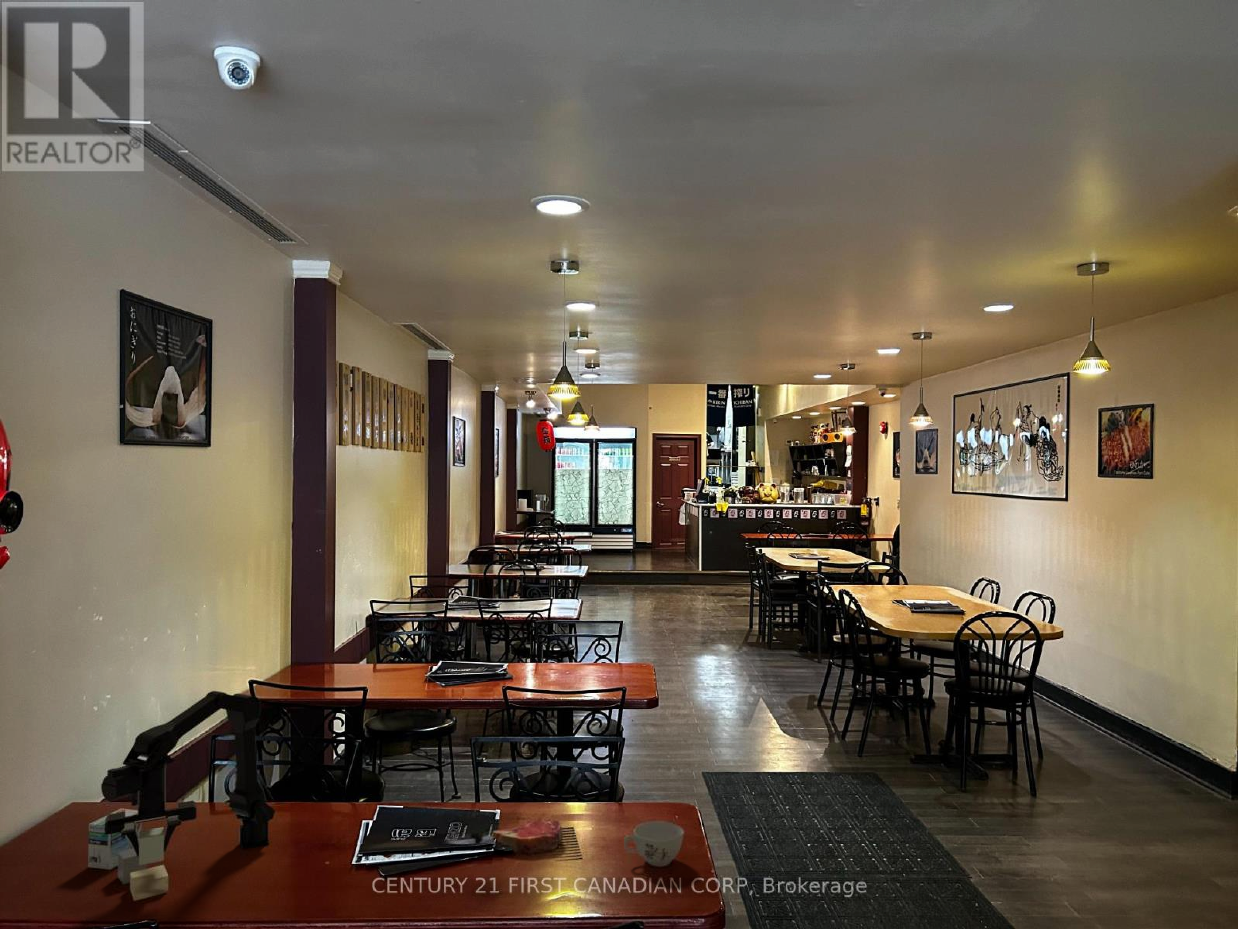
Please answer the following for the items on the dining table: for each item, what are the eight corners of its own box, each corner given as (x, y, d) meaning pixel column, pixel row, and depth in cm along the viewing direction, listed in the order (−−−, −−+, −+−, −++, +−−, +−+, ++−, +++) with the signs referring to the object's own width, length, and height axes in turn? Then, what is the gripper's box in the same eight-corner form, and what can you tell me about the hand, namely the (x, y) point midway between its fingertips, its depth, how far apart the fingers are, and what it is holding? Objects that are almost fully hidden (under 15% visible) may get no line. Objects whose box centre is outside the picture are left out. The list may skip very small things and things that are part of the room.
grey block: (140, 871, 209) (141, 846, 209) (146, 877, 205) (146, 852, 205) (117, 877, 205) (118, 852, 205) (123, 884, 202) (123, 859, 202)
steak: (573, 829, 235) (573, 809, 235) (582, 863, 214) (582, 841, 215) (481, 835, 231) (481, 815, 231) (482, 871, 210) (482, 848, 210)
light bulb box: (110, 870, 209) (110, 826, 209) (86, 868, 210) (87, 824, 210) (142, 852, 219) (143, 809, 220) (120, 849, 221) (120, 807, 221)
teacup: (679, 850, 220) (679, 819, 220) (687, 872, 208) (687, 839, 208) (621, 852, 219) (622, 821, 219) (626, 874, 207) (626, 841, 207)
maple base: (163, 881, 204) (163, 864, 204) (168, 893, 198) (168, 875, 198) (130, 890, 200) (130, 873, 200) (133, 902, 194) (133, 884, 194)
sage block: (163, 852, 203) (163, 827, 203) (163, 860, 198) (163, 834, 199) (139, 856, 200) (139, 831, 201) (139, 865, 196) (139, 839, 196)
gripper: (194, 769, 211) (194, 833, 211) (107, 782, 202) (106, 848, 202) (196, 784, 201) (196, 850, 201) (104, 798, 193) (104, 867, 192)
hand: (151, 853), depth 200 cm, fingers closed on sage block, 5 cm apart
